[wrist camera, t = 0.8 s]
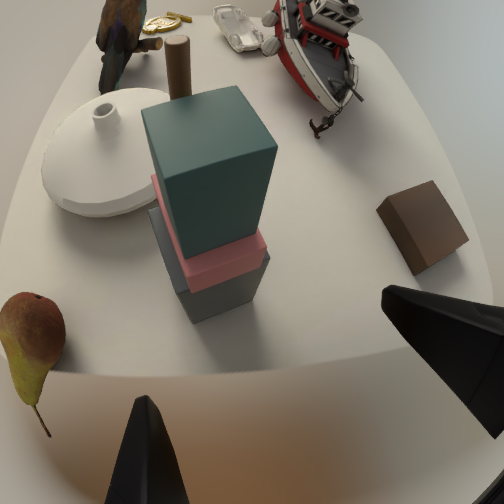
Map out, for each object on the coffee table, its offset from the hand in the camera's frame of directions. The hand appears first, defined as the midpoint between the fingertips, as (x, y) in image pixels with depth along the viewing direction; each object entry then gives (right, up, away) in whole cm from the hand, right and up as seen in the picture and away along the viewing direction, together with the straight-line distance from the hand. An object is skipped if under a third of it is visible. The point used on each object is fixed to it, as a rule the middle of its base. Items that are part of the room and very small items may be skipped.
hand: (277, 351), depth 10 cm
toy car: (-3, +38, +26) cm, 46 cm away
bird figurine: (-18, +30, +25) cm, 43 cm away
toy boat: (+6, +28, +27) cm, 39 cm away
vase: (-14, +12, +18) cm, 26 cm away
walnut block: (+16, +5, +18) cm, 25 cm away
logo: (-13, +45, +31) cm, 56 cm away
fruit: (-16, 0, +8) cm, 18 cm away
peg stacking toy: (-3, +4, +6) cm, 8 cm away
